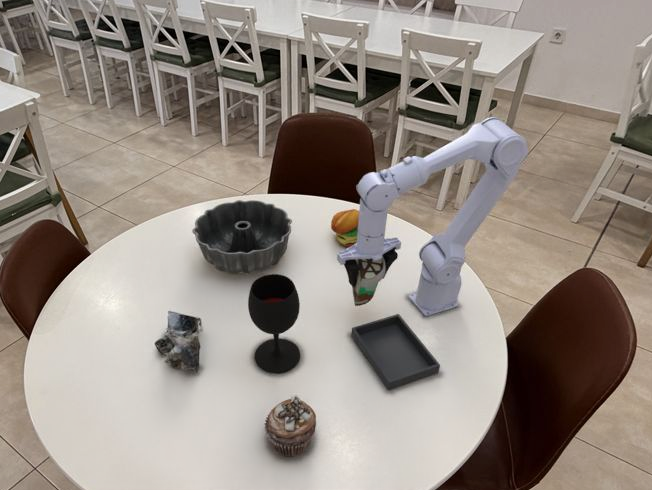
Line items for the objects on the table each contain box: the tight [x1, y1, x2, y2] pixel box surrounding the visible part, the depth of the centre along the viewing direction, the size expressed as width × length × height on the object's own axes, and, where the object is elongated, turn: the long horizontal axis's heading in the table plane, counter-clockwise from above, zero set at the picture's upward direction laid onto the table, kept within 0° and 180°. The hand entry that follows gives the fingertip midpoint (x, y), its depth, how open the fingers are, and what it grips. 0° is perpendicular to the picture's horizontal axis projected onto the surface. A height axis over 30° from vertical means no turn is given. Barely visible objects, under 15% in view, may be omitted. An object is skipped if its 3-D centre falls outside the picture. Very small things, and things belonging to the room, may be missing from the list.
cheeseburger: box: [330, 208, 359, 248], centre depth 140 cm, size 10×11×10 cm
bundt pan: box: [192, 199, 293, 276], centre depth 135 cm, size 26×26×10 cm
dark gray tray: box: [350, 313, 441, 392], centre depth 110 cm, size 12×17×3 cm
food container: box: [351, 242, 386, 307], centre depth 112 cm, size 12×6×10 cm, turn 1°
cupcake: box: [263, 394, 317, 458], centre depth 92 cm, size 10×10×10 cm
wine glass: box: [247, 273, 301, 375], centre depth 104 cm, size 10×10×20 cm
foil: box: [154, 310, 204, 374], centre depth 111 cm, size 12×11×15 cm
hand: (366, 280), depth 113 cm, fingers closed on food container, 7 cm apart
